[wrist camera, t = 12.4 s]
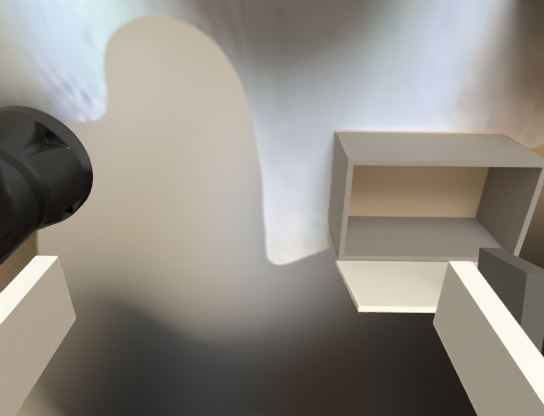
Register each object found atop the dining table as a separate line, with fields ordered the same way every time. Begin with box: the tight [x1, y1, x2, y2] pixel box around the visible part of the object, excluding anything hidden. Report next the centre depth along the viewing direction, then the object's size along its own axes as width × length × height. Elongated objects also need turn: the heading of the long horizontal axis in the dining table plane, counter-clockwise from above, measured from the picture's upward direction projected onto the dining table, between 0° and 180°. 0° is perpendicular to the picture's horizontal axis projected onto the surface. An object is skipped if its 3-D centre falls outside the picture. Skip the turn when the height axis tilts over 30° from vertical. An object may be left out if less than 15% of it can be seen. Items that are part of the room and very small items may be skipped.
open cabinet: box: [328, 131, 544, 262], centre depth 47 cm, size 20×12×10 cm, turn 89°
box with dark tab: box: [336, 248, 544, 353], centre depth 36 cm, size 21×18×6 cm
